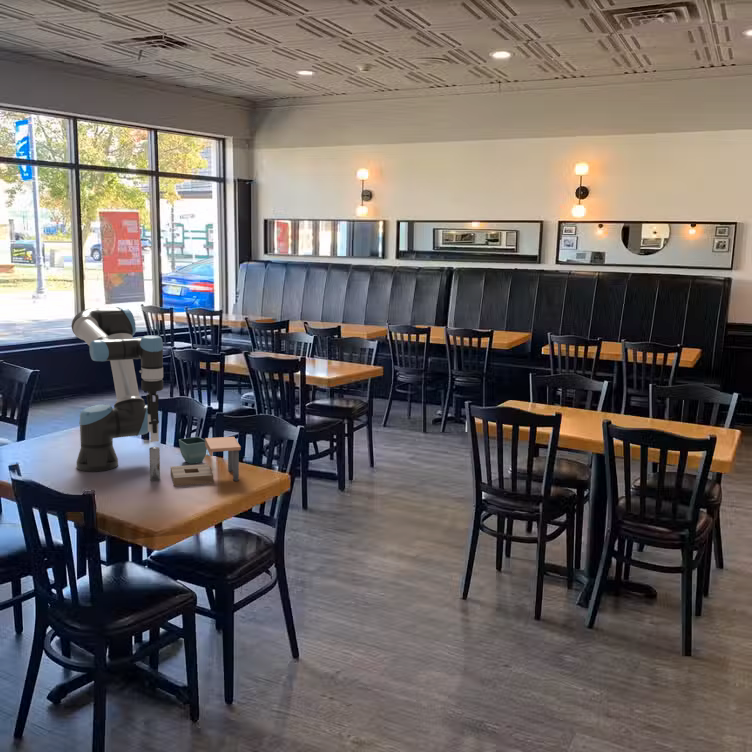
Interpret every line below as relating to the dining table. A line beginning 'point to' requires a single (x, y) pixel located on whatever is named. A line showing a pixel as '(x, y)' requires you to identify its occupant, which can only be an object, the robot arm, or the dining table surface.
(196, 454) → the flower pot
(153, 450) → the peg
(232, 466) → the awning
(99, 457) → the robot arm
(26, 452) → the dining table surface
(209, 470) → the socket block
